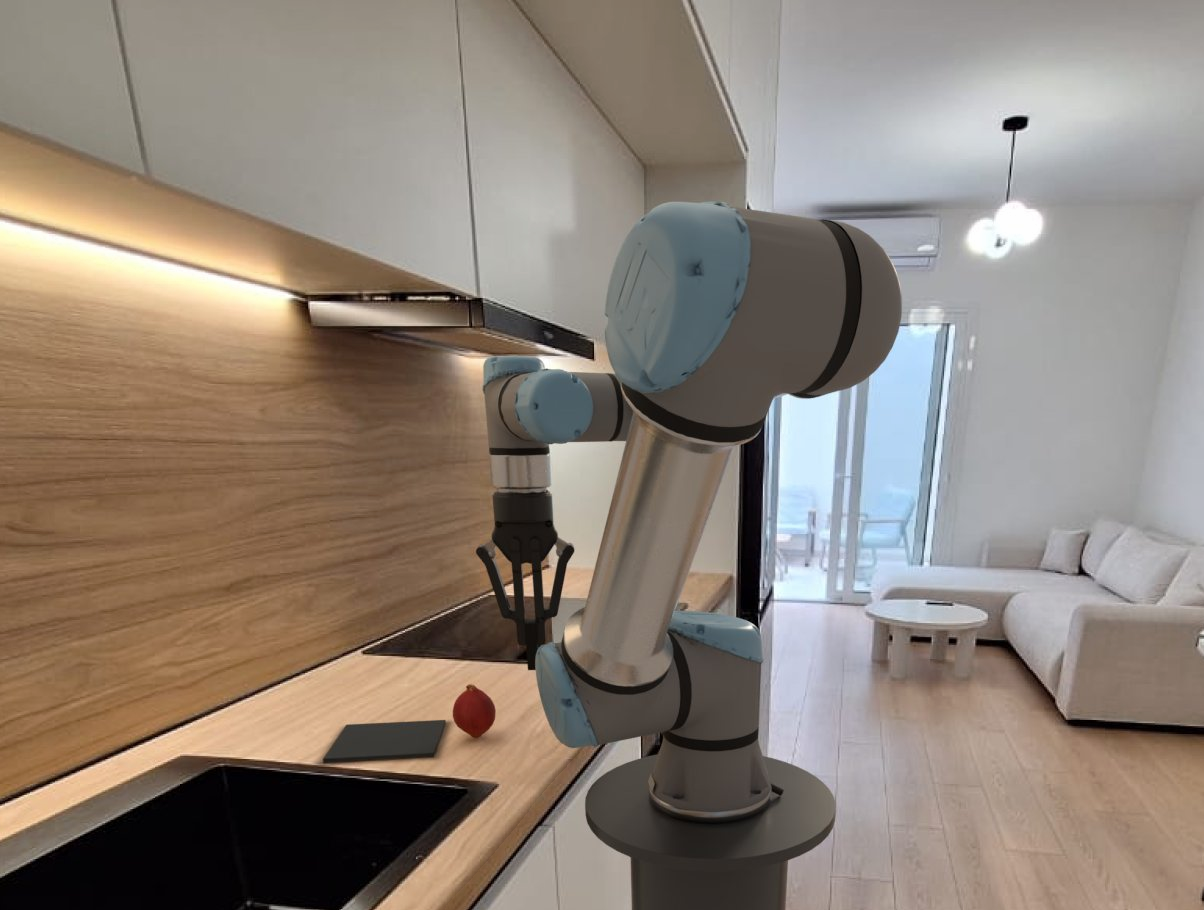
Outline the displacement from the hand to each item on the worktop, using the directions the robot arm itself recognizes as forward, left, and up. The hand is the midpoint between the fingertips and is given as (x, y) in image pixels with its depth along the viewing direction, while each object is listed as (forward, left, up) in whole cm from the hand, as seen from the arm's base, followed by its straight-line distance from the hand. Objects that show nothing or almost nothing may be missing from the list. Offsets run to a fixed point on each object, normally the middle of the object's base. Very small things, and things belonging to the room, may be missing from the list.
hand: (533, 667), depth 112 cm
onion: (+9, 0, -10) cm, 13 cm away
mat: (+21, 0, -10) cm, 23 cm away
